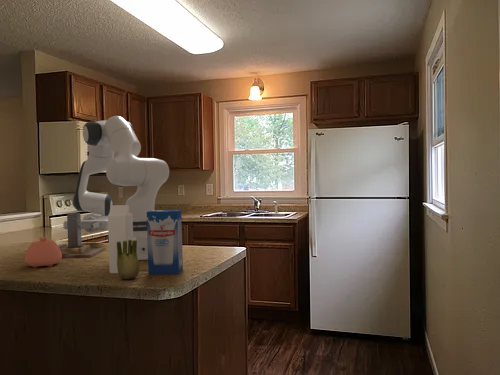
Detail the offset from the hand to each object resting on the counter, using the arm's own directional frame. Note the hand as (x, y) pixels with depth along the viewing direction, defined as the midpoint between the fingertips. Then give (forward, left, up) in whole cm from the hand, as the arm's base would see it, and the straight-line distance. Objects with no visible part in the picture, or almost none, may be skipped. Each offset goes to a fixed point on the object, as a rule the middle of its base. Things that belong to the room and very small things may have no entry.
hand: (81, 226), depth 187 cm
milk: (-30, +47, -11) cm, 57 cm away
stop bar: (0, +9, -10) cm, 13 cm away
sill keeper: (0, +9, -11) cm, 14 cm away
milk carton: (-45, +50, -11) cm, 68 cm away
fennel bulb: (-35, +58, -11) cm, 69 cm away
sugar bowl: (+3, +31, -11) cm, 33 cm away
